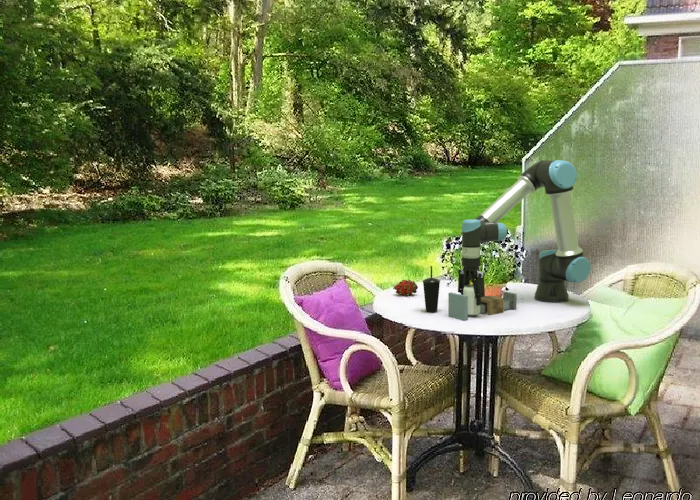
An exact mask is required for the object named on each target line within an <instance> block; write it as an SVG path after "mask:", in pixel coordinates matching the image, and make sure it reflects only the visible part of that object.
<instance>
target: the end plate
mask: <svg viewBox="0 0 700 500" xmlns="http://www.w3.org/2000/svg"><path fill="white" fill-rule="evenodd" d="M447 295H448V297H447V298H448V317H450V318H453V319H457V320H461V321H464V322H465V321H468V317H469V315H468V296H465V295H461V293H455V292H452V291H451V292H448V293H447Z"/></svg>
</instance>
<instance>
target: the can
mask: <svg viewBox="0 0 700 500" xmlns="http://www.w3.org/2000/svg"><path fill="white" fill-rule="evenodd" d="M463 295H465V296H468V316H477V315H478V314H479V313H474V297H475V292H474V288H473V284H470V283H469V284H468V285H464V289H463Z"/></svg>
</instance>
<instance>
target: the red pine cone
mask: <svg viewBox="0 0 700 500" xmlns="http://www.w3.org/2000/svg"><path fill="white" fill-rule="evenodd" d="M418 288H419V286H418V285H417V283H416V282H415V281H413V280H412V279H407V280H406V279H402V280H401V281H399V282H398V283H397V284H396V285H394V286H393V289H392V290H395V293H396V294H398V295H399V296H404V297H407V296H409V297H410V296H411V297H412V295H413V294H416V293H417V292H418Z"/></svg>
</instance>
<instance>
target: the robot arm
mask: <svg viewBox="0 0 700 500" xmlns="http://www.w3.org/2000/svg"><path fill="white" fill-rule="evenodd" d="M577 178H578V173H577V169H576V167H575V166H574V164H572V163H571V162H569V161H567V160H562V159H552V160H549V159H548V160H547V159H544V160H540V161H537V162H535V163H534V164H532V165H531V166H529V167H528V168H526V169H525V170H524V172H522V173H521V174H520V175H519V176H518V177H517V180H516V181H515V182H514V184H513V185H511V186H510V187H509V188H508V189H507V190H505V192H504V193H502V194H501V195H500V196H499V197H497V199H496V200H495V201H493V202H492V203H491V204H490V205H489V206H488V207H486V209H485V210H483V212H482V213H479V215H478V216H477V217H476V218H474V219H464V220H463V221H462V225H461V255H462V258H461V266H462V267H463V268H461V269H460V268H459V269H458V270H457V273H458V274H457V275H458V281H457V292H458V294H460V295H463V289H464V285H468V284H470V283H472V284H473V288H474V292H475V297H474V313H478V314H480V305H481V297H484V296H486V292H485V276H486V275H485V272H481V271H480V266H481V258H480V257H481V243H483V242H488V243H489V242H500V241H504V240H506V238H507V235H508V228H507V226H506V224H504V223H502V222H500V221H501V220H502V219H503V218H504V217H505V216H506V215H507V214H508V213H509V212H511V210H512V209H514V208H515V207H516V206H517V205H518V204H519V203H520V202H521V201H522V200H524V199H525V198H526V197H527V196H528V195H529V194H533V193H535V192H536V191H537V190H538V189H540V188H544V191H545V195H546V196H548V197H549V198H550V205H551V212H552V219H553V224H554V230H555V238H556V243H557V249H547V250H541V251H540V252H539V257H538V284H537V287H536V290H535V291H534V292H535V293H534V299H535V300H536V301H539V302H546V303H564V302H568V301H569V299H570V296H569V293H568V290H567V286H566V282H569V283H575V284H576V283H582V282H584V281H585V280H586V279H587V278H588V276H589V275H590V273H591V270H592V266H591V262H590V260H589V259H588V258H587V257H585V254H584V249H583V248H582V247H580V246H579V240H578V234H577V228H576V222H575V221H576V220H575V215H574V214H575V213H574V208H573V202H572V195H571V194H572V192H573V190H574V185H575V184H576V181H577Z"/></svg>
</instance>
